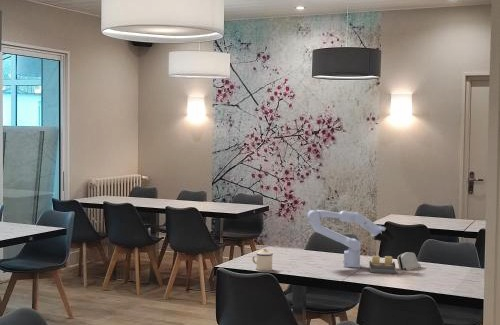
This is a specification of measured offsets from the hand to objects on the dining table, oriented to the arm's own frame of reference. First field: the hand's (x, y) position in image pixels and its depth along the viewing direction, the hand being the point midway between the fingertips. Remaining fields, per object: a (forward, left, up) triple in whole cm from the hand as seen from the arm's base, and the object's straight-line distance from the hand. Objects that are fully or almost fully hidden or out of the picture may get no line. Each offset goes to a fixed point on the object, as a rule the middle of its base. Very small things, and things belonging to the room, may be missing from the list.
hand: (390, 239), depth 385 cm
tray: (-4, -15, -16) cm, 22 cm away
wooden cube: (-8, -4, -13) cm, 16 cm away
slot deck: (-4, -5, -16) cm, 17 cm away
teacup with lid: (-70, -25, -16) cm, 76 cm away
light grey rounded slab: (+11, +1, -16) cm, 19 cm away
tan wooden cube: (-1, -4, -13) cm, 14 cm away
